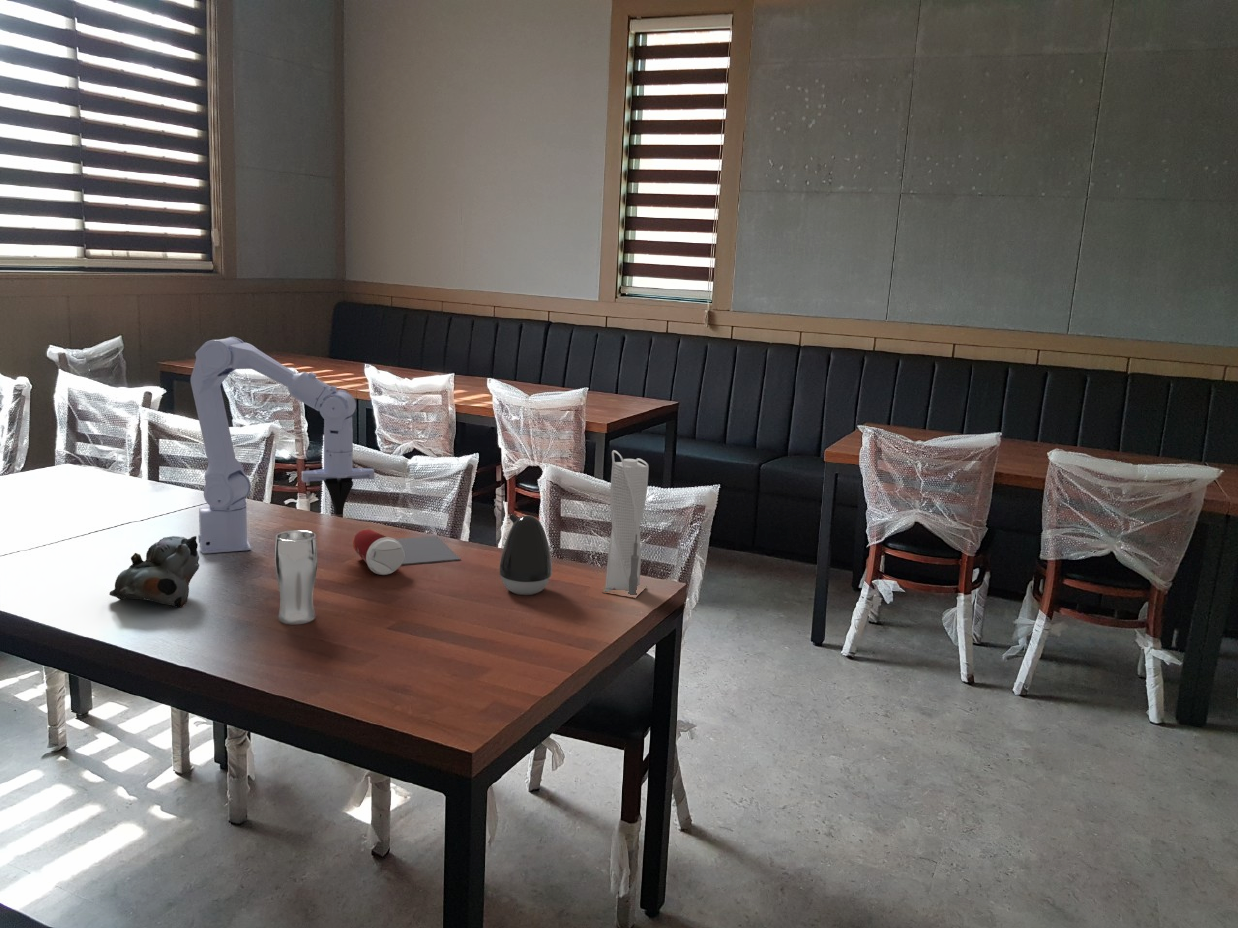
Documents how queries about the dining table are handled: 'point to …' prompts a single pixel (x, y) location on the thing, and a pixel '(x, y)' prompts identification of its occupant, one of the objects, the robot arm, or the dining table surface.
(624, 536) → the skyscraper
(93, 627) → the dining table surface
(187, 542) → the lucky cat figurine
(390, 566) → the paper cup
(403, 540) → the mat
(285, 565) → the beer glass
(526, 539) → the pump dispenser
